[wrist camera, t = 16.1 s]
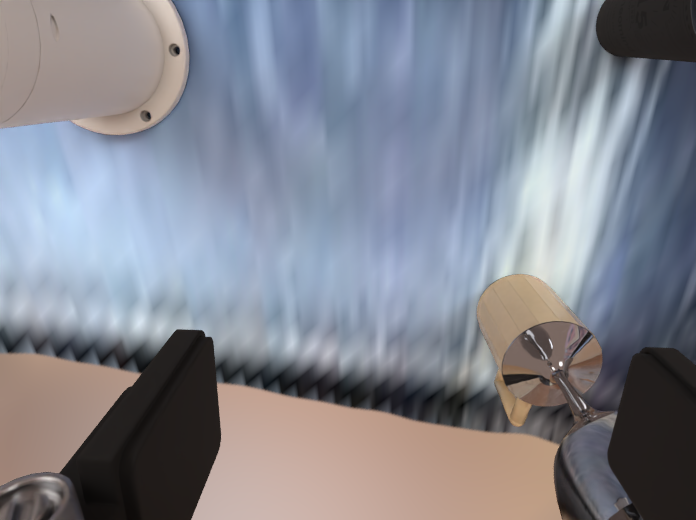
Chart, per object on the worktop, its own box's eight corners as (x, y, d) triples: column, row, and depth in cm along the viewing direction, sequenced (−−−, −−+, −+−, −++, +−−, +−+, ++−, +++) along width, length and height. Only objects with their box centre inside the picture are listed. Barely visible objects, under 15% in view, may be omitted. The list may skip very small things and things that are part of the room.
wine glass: (621, 387, 35) (794, 590, 21) (518, 424, 36) (613, 638, 22) (589, 298, 33) (757, 459, 19) (479, 342, 34) (559, 523, 20)
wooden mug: (489, 266, 42) (521, 313, 33) (566, 282, 42) (617, 332, 34) (456, 367, 45) (477, 431, 37) (528, 381, 46) (565, 448, 37)
